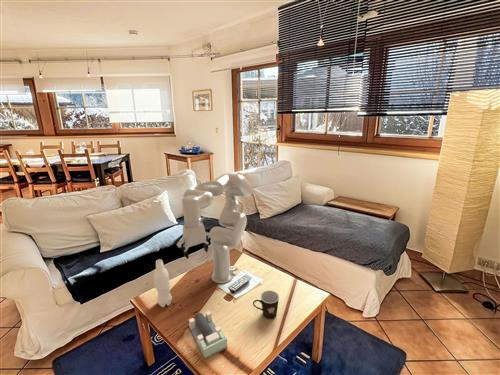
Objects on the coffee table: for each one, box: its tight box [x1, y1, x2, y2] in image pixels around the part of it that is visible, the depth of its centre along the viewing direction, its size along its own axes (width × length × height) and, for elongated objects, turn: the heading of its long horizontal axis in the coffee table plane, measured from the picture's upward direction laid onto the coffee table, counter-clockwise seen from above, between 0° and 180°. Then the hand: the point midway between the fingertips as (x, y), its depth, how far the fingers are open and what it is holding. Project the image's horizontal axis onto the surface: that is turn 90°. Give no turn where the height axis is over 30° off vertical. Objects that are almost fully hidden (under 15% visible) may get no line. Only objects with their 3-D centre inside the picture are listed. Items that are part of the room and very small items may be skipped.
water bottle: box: [153, 258, 173, 308], centre depth 133 cm, size 7×7×25 cm
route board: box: [187, 310, 228, 360], centre depth 116 cm, size 10×20×5 cm, turn 31°
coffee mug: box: [252, 290, 280, 320], centre depth 127 cm, size 12×9×10 cm
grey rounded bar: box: [194, 312, 220, 346], centre depth 117 cm, size 19×5×5 cm, turn 31°
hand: (196, 254), depth 129 cm, fingers open, 9 cm apart
